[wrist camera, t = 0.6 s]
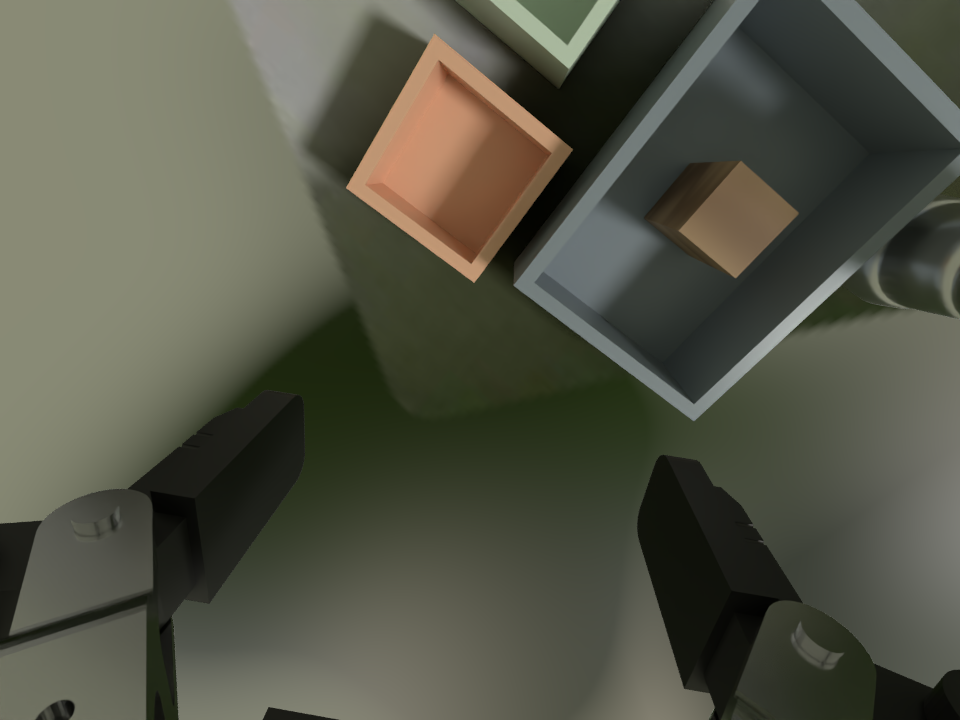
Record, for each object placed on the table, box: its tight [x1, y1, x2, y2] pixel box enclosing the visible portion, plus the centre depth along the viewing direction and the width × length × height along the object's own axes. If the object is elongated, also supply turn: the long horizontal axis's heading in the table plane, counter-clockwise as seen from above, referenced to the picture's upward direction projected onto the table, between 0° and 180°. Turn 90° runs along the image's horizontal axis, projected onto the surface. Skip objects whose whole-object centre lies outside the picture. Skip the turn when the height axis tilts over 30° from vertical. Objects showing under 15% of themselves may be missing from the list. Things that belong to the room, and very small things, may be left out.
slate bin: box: [514, 0, 960, 421], centre depth 27 cm, size 19×14×7 cm
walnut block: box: [644, 161, 799, 278], centre depth 26 cm, size 4×4×7 cm
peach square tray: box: [346, 34, 573, 283], centre depth 28 cm, size 9×9×4 cm
